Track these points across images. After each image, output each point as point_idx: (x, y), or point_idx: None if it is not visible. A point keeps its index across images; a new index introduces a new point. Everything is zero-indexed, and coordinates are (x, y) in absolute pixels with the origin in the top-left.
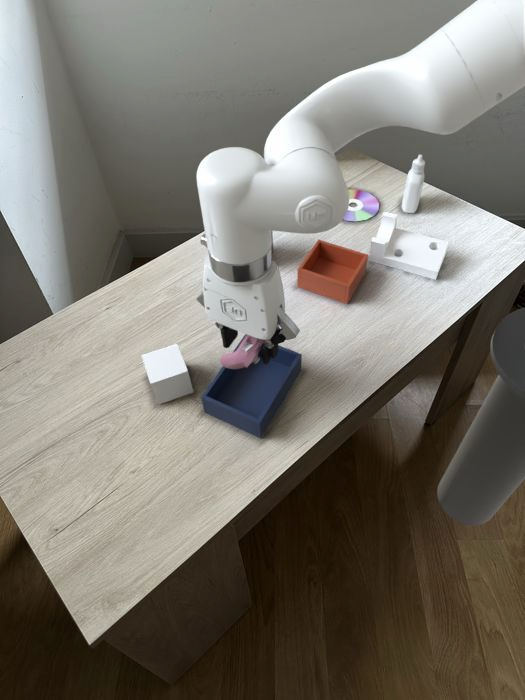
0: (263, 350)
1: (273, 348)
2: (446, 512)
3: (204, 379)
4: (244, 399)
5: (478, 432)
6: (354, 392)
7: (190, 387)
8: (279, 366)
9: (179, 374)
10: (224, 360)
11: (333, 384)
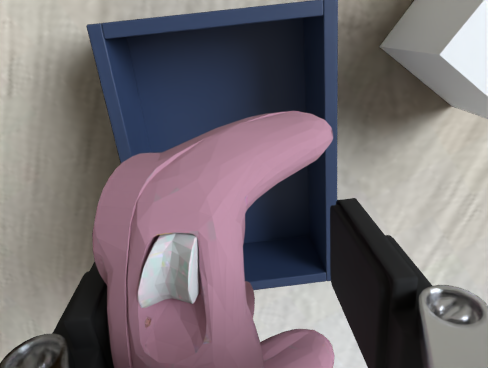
0: (92, 295)
1: (57, 333)
2: None
3: (372, 101)
4: (232, 106)
5: None
6: (24, 271)
7: (395, 43)
8: None
9: (462, 23)
10: (295, 126)
11: (78, 264)
